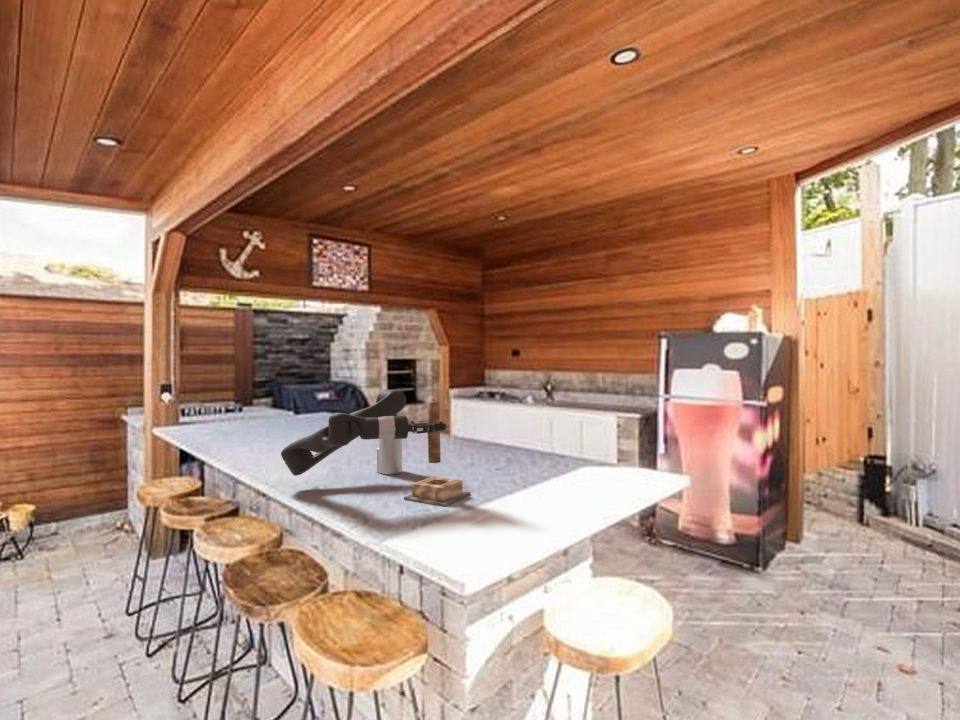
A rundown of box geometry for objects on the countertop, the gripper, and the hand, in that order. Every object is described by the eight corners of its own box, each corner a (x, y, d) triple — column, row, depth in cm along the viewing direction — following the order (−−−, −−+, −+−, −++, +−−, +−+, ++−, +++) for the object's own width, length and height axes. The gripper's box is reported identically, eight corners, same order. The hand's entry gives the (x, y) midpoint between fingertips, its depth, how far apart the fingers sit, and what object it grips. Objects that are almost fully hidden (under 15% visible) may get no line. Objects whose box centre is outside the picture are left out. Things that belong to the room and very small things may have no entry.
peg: (426, 462, 179) (424, 402, 178) (433, 459, 183) (431, 401, 182) (435, 463, 177) (434, 403, 176) (442, 461, 181) (441, 401, 180)
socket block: (403, 499, 177) (403, 484, 177) (431, 488, 191) (431, 474, 191) (445, 506, 169) (445, 490, 169) (470, 494, 183) (470, 479, 183)
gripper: (389, 435, 182) (439, 433, 187) (395, 442, 169) (448, 440, 174) (389, 413, 182) (439, 412, 187) (395, 418, 169) (448, 417, 173)
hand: (443, 425), depth 180 cm, fingers closed on peg, 4 cm apart
